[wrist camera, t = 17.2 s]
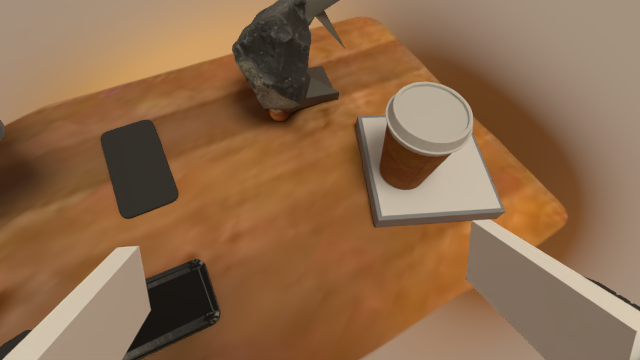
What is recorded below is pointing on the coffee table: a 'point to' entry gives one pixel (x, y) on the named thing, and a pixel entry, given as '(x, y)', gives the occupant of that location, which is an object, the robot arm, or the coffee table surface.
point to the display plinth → (428, 185)
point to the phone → (138, 169)
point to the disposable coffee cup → (422, 132)
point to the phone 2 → (175, 308)
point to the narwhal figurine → (284, 57)
